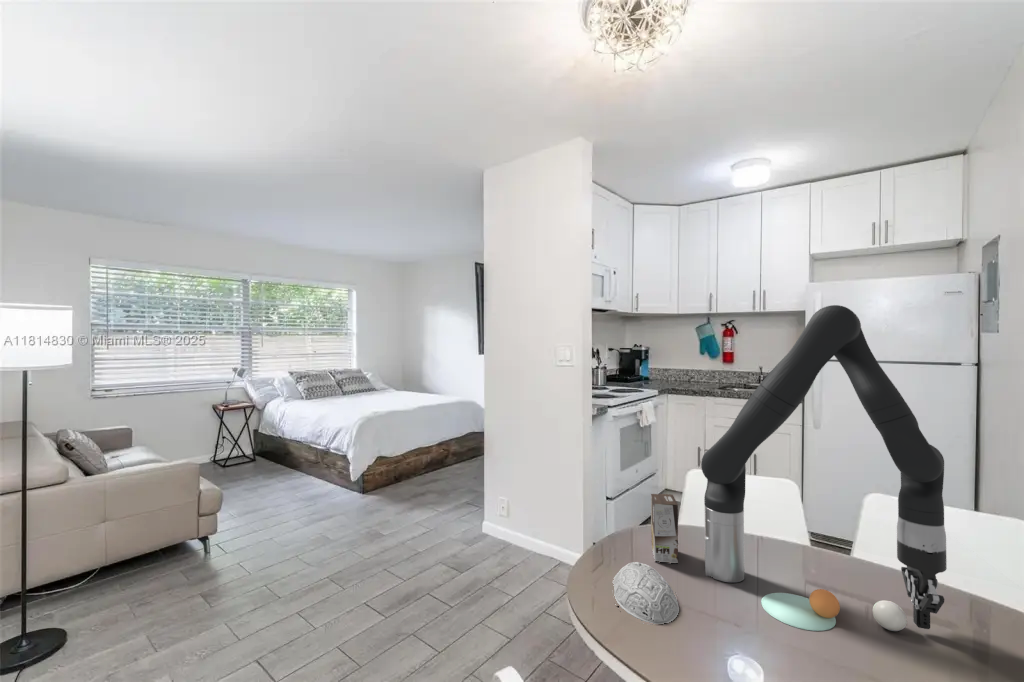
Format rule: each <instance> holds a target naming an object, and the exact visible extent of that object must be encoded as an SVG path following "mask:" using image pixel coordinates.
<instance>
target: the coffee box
mask: <svg viewBox="0 0 1024 682" xmlns="http://www.w3.org/2000/svg"><path fill="white" fill-rule="evenodd" d="M650 519H651V520H650V528H651V529H650V531H651V532H650V533H651V535H650V536H651V551H653V552H652V555H654V556H653V559H655V560H654V562H655V561H661V562H671V563H678V564H679V504H678V502H677V500H676V498H675V496H674V494H670V493H669V494H668V493H650ZM671 563H670V564H671Z"/></svg>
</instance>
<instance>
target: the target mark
mask: <svg viewBox="0 0 1024 682" xmlns="http://www.w3.org/2000/svg"><path fill="white" fill-rule="evenodd" d="M760 603H761V606H762V608H763V610H764V611H765V612H766V613H767V614H768V615H770V616H771V617H772V618H774V619H776V620H777V621H779V622H781V623H783V624H785V625H788V626H791V627H793V628H797V629H800V630H804V631H805V630H806V631H811V632H812V631H813V632H823V631H829V630H831V629H833V628H834V627H835V625H837V624H836V623H837V621H836V616H835V617H833V618H825V617H822V616H820V615H818V614H817V613H816V612H815V611H814V610H813V609H812V607H811V605H810V601H809V597H808V598H807V597H806V596H801V595H797V594H793V593H787V592H773V593H772V592H771V593H768V594H766V595H764V596H763V597H762V598H761V602H760Z"/></svg>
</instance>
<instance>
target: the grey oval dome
mask: <svg viewBox="0 0 1024 682" xmlns="http://www.w3.org/2000/svg"><path fill="white" fill-rule="evenodd" d="M621 567H622V568H620V570H619V571H618V572H617V573H616V574H615V576H614V577H613V579H614V580H613V579H612V583H613V584H614V585H613V586H614V596H615V599H616V601H617V603H618V604H619V605H620V607H621V608H622V609H624V610H625V611H626V612H627V613H628V614H630V615H632V616H633V617H635V618H637V619H640V620H641V621H645V622H649V623H653V624H663V623H668V624H670V623H672V622H673V620H674V619H675V618H676V617H677V618H678V616H679V614H680V606H679V602H678V601H679V600H678V601H677V599H676V597H675V595H674V593H675V592H674V590H673V588H672V586H671V585H670V584H669V582H668V581H667V580H666V578H664V577H663V576H662V574H660V573H659V571H658V570H656V569H655V568H654V567H652V566H651V565H648V564H646V563H642V562H639V561H632V562H629V563H627V564H625V565H624V566H621ZM673 592H674V593H673ZM614 596H613V597H614ZM678 613H679V614H678ZM677 615H678V616H677ZM677 618H676V619H677ZM676 619H675V620H676ZM675 620H674V621H675ZM671 621H672V622H671ZM669 622H670V623H669ZM653 624H652V625H653ZM663 625H664V624H663Z"/></svg>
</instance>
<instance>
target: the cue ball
mask: <svg viewBox="0 0 1024 682" xmlns="http://www.w3.org/2000/svg"><path fill="white" fill-rule="evenodd" d="M872 615H873V618H874V620H875V621H876V622H877V623H878V625H879V626H881V627H882V628H884V629H886V630H888V631H891V632H898V631H902V630H903V629H905V627H906V626H907V622H908V619H907V614H906V612H905V611H904V610H903V609H902V608H901V606H900V605H898V604H897V603H895V602H893V601H890V600H878V601H876V602H875V604H874V605H873V607H872Z"/></svg>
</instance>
